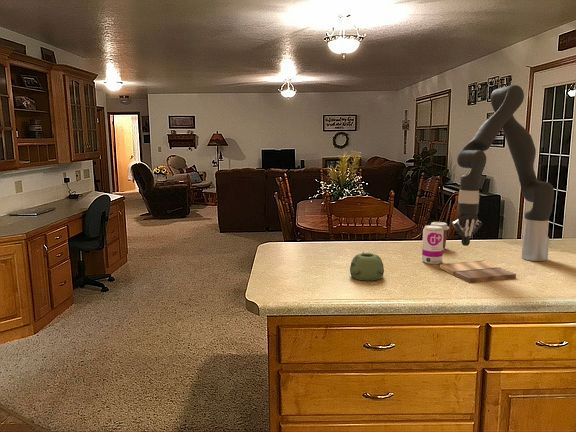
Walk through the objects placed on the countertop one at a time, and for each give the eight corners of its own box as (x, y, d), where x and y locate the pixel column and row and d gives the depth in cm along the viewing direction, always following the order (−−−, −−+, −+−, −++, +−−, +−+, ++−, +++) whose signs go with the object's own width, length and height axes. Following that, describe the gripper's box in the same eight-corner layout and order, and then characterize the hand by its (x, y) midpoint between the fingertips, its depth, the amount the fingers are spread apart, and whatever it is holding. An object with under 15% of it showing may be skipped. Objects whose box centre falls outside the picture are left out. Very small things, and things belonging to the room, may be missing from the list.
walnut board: (499, 271, 187) (499, 267, 187) (515, 278, 179) (516, 273, 178) (454, 275, 182) (454, 271, 182) (469, 282, 174) (469, 278, 173)
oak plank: (483, 264, 196) (483, 260, 196) (498, 271, 188) (498, 267, 188) (440, 267, 191) (440, 263, 191) (453, 275, 183) (453, 271, 183)
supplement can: (443, 264, 198) (444, 229, 195) (422, 263, 199) (423, 228, 197) (441, 259, 206) (442, 225, 203) (421, 259, 207) (422, 224, 205)
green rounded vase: (387, 282, 175) (388, 258, 174) (352, 282, 175) (352, 259, 174) (378, 270, 191) (378, 248, 190) (345, 270, 191) (346, 249, 189)
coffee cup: (424, 246, 231) (425, 221, 229) (443, 245, 232) (444, 221, 230) (432, 250, 222) (433, 225, 220) (451, 250, 223) (452, 224, 221)
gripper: (477, 200, 192) (473, 242, 195) (447, 200, 189) (445, 244, 191) (489, 202, 185) (485, 246, 188) (459, 203, 182) (456, 248, 184)
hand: (465, 245), depth 190 cm, fingers closed
